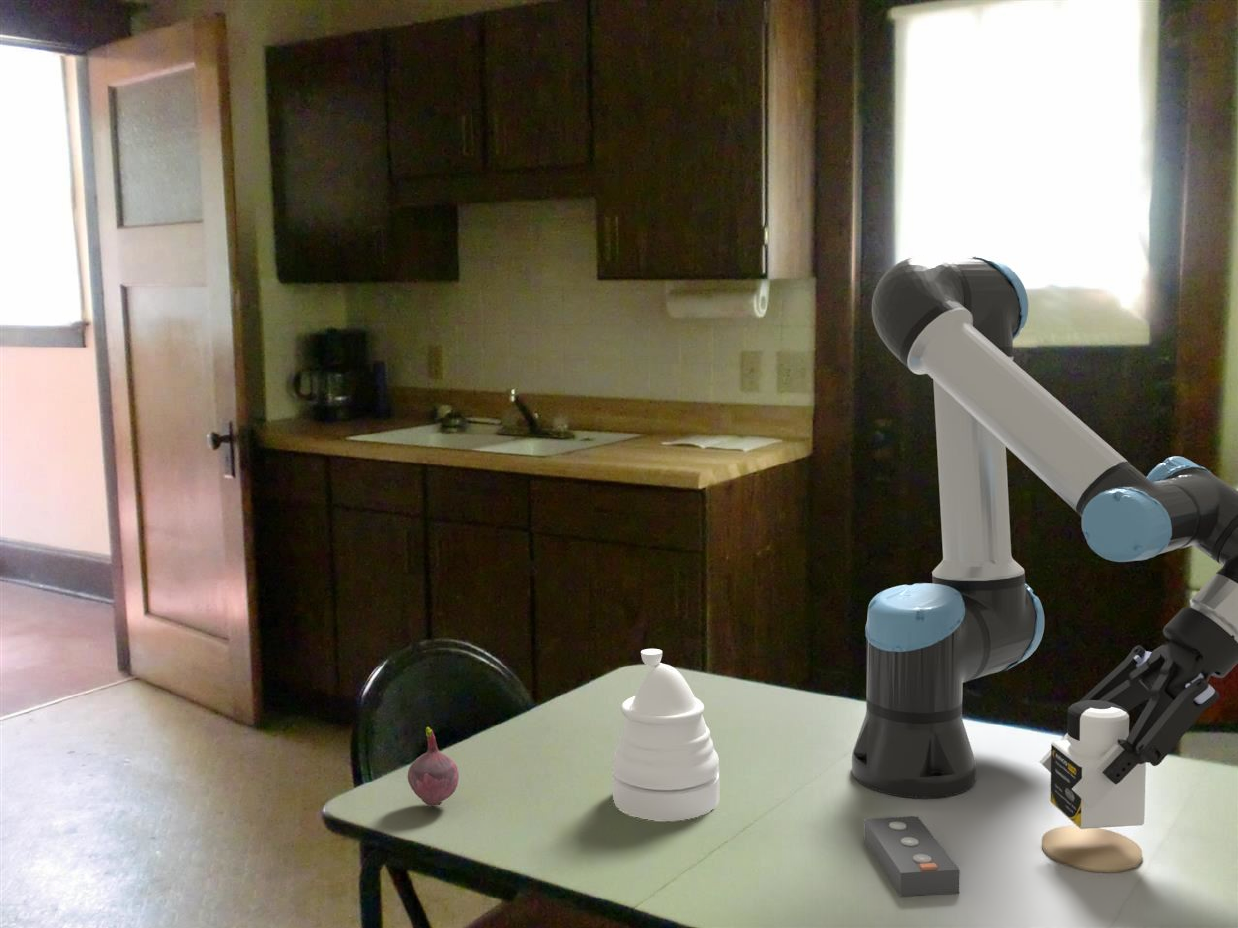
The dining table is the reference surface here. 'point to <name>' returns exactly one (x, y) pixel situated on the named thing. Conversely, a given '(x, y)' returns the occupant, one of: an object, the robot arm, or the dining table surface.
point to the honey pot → (665, 750)
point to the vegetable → (433, 774)
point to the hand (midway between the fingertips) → (1065, 784)
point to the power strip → (911, 856)
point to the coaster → (1092, 849)
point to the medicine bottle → (1073, 758)
